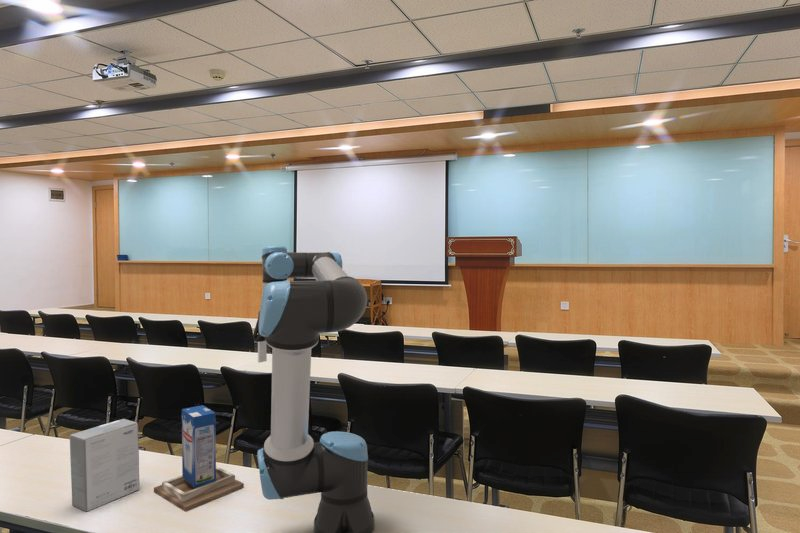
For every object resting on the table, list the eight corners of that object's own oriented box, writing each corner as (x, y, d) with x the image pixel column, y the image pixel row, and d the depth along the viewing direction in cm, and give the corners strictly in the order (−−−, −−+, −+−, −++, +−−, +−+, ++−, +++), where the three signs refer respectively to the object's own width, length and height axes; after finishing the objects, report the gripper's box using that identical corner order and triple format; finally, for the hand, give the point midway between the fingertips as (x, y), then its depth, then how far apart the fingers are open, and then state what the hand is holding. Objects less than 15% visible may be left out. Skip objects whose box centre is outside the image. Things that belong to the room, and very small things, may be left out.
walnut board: (243, 487, 150) (243, 476, 150) (185, 511, 136) (185, 499, 136) (210, 471, 161) (210, 461, 161) (153, 491, 147) (153, 480, 147)
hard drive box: (125, 483, 152) (124, 418, 152) (140, 489, 148) (139, 422, 148) (70, 505, 139) (69, 433, 138) (85, 513, 135) (84, 438, 135)
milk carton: (216, 481, 147) (215, 412, 146) (194, 487, 143) (193, 417, 142) (203, 470, 154) (202, 405, 154) (182, 476, 150) (181, 409, 150)
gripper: (311, 297, 151) (311, 368, 152) (260, 293, 167) (261, 357, 168) (291, 299, 145) (291, 372, 146) (241, 294, 161) (241, 361, 162)
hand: (275, 364), depth 157 cm, fingers open, 13 cm apart
